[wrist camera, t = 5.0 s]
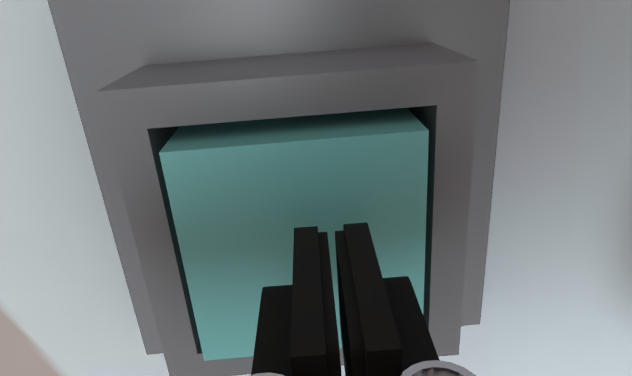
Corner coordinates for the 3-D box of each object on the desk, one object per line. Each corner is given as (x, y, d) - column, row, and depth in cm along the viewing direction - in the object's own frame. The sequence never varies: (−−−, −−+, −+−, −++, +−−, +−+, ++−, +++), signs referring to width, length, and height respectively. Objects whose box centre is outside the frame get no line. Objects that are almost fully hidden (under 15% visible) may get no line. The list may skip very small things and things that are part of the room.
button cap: (393, 94, 15) (428, 130, 11) (394, 265, 17) (422, 340, 14) (191, 110, 15) (158, 152, 11) (222, 280, 17) (204, 360, 13)
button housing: (497, -44, 15) (594, -59, 10) (469, 306, 21) (523, 401, 16) (62, -12, 15) (-46, -12, 10) (154, 334, 20) (113, 441, 16)
